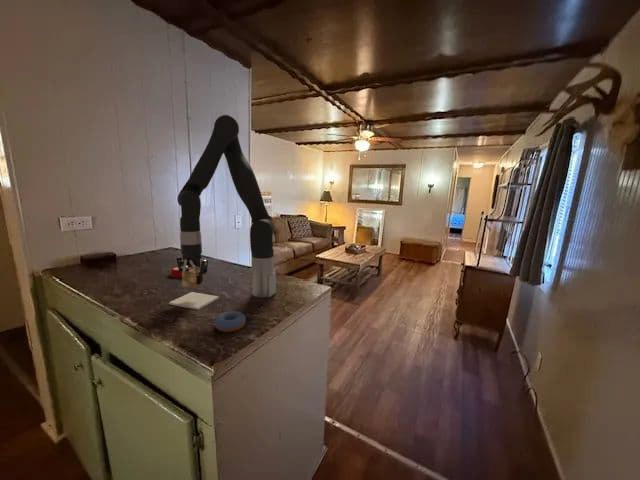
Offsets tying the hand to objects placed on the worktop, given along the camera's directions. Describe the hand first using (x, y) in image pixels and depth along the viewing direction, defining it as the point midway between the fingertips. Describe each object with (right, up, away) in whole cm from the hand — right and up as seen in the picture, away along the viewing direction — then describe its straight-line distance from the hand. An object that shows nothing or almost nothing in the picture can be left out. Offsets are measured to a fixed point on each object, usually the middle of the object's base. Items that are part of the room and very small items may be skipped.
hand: (193, 282), depth 111 cm
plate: (0, -8, +1) cm, 8 cm away
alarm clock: (-21, -2, +34) cm, 39 cm away
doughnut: (+21, -12, -18) cm, 30 cm away
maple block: (0, -1, 0) cm, 1 cm away
